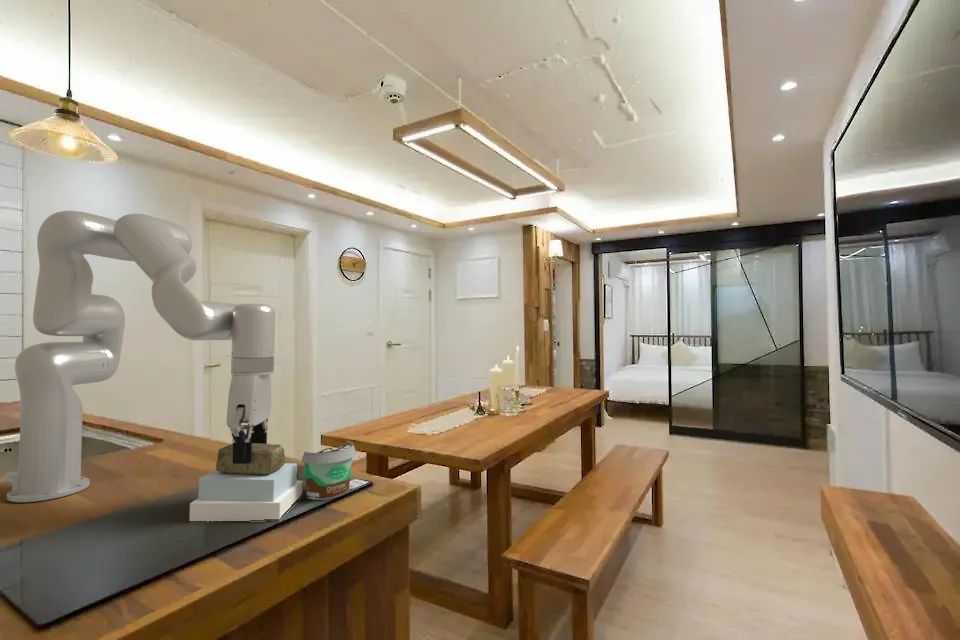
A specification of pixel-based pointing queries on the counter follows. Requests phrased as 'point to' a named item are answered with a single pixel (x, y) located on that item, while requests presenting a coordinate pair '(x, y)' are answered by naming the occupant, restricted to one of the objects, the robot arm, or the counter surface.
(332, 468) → the food container
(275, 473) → the tower top slab
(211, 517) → the tower base slab
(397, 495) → the counter surface
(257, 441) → the robot arm
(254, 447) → the stone block
